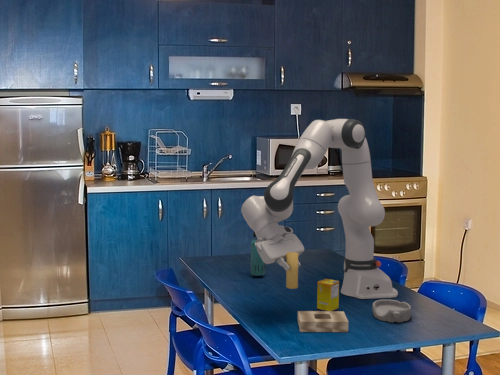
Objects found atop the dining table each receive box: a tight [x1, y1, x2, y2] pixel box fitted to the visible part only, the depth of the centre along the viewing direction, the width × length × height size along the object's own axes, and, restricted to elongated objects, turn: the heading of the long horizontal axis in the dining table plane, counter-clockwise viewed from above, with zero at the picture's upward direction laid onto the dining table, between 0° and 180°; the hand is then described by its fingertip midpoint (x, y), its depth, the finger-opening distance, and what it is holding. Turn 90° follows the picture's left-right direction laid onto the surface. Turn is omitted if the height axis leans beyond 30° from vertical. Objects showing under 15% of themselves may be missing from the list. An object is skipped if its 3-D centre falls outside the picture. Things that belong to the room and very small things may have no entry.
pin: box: [285, 252, 299, 290], centre depth 248 cm, size 4×4×12 cm
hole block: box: [297, 310, 349, 333], centre depth 245 cm, size 16×12×4 cm
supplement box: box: [316, 278, 340, 311], centre depth 263 cm, size 6×6×11 cm
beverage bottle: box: [250, 231, 266, 276], centre depth 311 cm, size 6×7×20 cm
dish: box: [371, 298, 412, 323], centre depth 256 cm, size 14×14×5 cm
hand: (293, 268), depth 247 cm, fingers closed on pin, 4 cm apart
